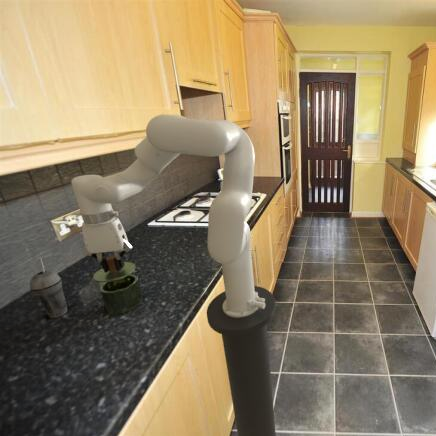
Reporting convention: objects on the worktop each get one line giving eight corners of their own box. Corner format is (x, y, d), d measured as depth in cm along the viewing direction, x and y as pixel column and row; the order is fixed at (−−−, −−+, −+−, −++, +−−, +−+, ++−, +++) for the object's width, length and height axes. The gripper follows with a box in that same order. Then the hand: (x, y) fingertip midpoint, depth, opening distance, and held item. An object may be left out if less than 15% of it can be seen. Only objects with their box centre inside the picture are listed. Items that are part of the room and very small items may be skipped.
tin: (149, 297, 95) (144, 277, 92) (123, 317, 86) (116, 295, 83) (127, 292, 98) (121, 272, 95) (99, 310, 88) (91, 289, 85)
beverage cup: (37, 320, 85) (12, 265, 78) (60, 305, 91) (39, 253, 84) (56, 322, 84) (32, 266, 77) (78, 307, 90) (58, 254, 83)
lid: (144, 267, 91) (140, 251, 89) (112, 286, 81) (107, 269, 79) (118, 262, 94) (114, 247, 92) (85, 280, 84) (79, 263, 82)
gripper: (133, 210, 85) (146, 261, 92) (74, 214, 82) (91, 266, 89) (124, 218, 79) (138, 272, 85) (59, 223, 75) (79, 279, 82)
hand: (114, 269), depth 87 cm, fingers closed on lid, 3 cm apart
